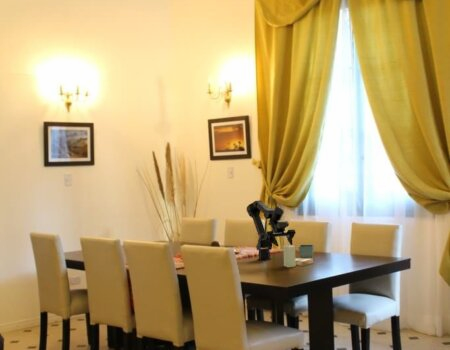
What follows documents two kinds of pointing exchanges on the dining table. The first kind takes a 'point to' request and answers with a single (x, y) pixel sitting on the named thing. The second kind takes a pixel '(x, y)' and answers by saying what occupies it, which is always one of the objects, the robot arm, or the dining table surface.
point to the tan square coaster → (303, 261)
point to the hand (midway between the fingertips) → (285, 245)
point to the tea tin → (289, 256)
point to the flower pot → (306, 251)
